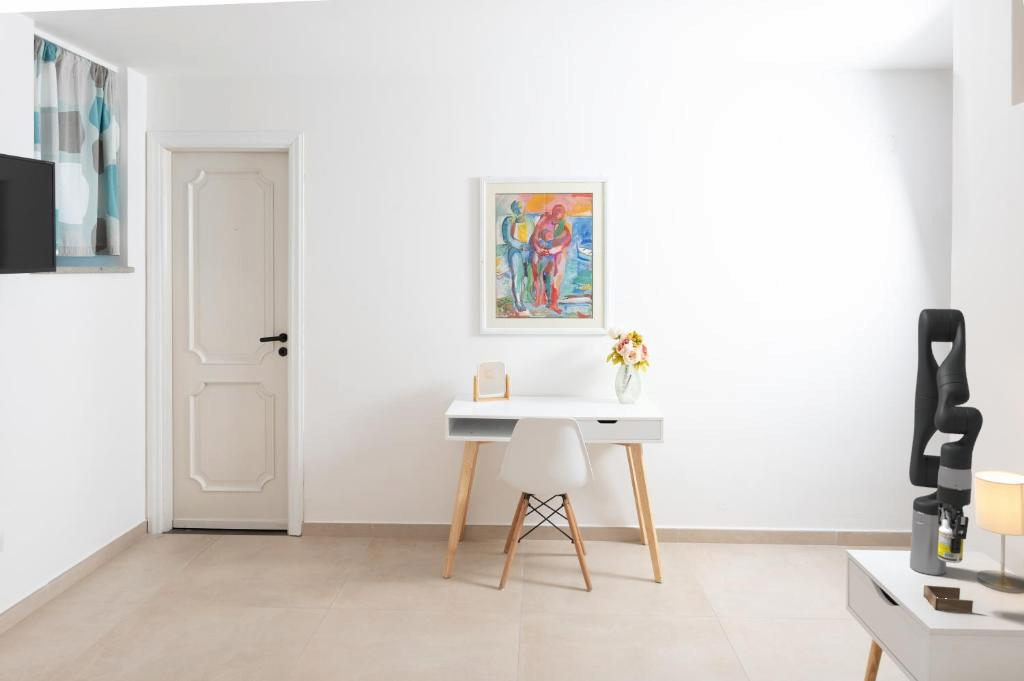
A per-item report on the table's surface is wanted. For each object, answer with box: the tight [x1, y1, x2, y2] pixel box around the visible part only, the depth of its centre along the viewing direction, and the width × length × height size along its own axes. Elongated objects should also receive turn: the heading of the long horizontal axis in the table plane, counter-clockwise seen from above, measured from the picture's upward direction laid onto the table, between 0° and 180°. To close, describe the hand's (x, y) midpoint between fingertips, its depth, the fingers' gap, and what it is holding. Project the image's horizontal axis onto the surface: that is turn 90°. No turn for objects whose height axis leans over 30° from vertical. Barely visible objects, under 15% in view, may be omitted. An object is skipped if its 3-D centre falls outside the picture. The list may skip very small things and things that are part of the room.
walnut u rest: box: [923, 584, 974, 614], centre depth 202 cm, size 9×9×3 cm
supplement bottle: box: [938, 519, 964, 564], centre depth 201 cm, size 6×6×10 cm
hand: (950, 548), depth 201 cm, fingers closed on supplement bottle, 5 cm apart
